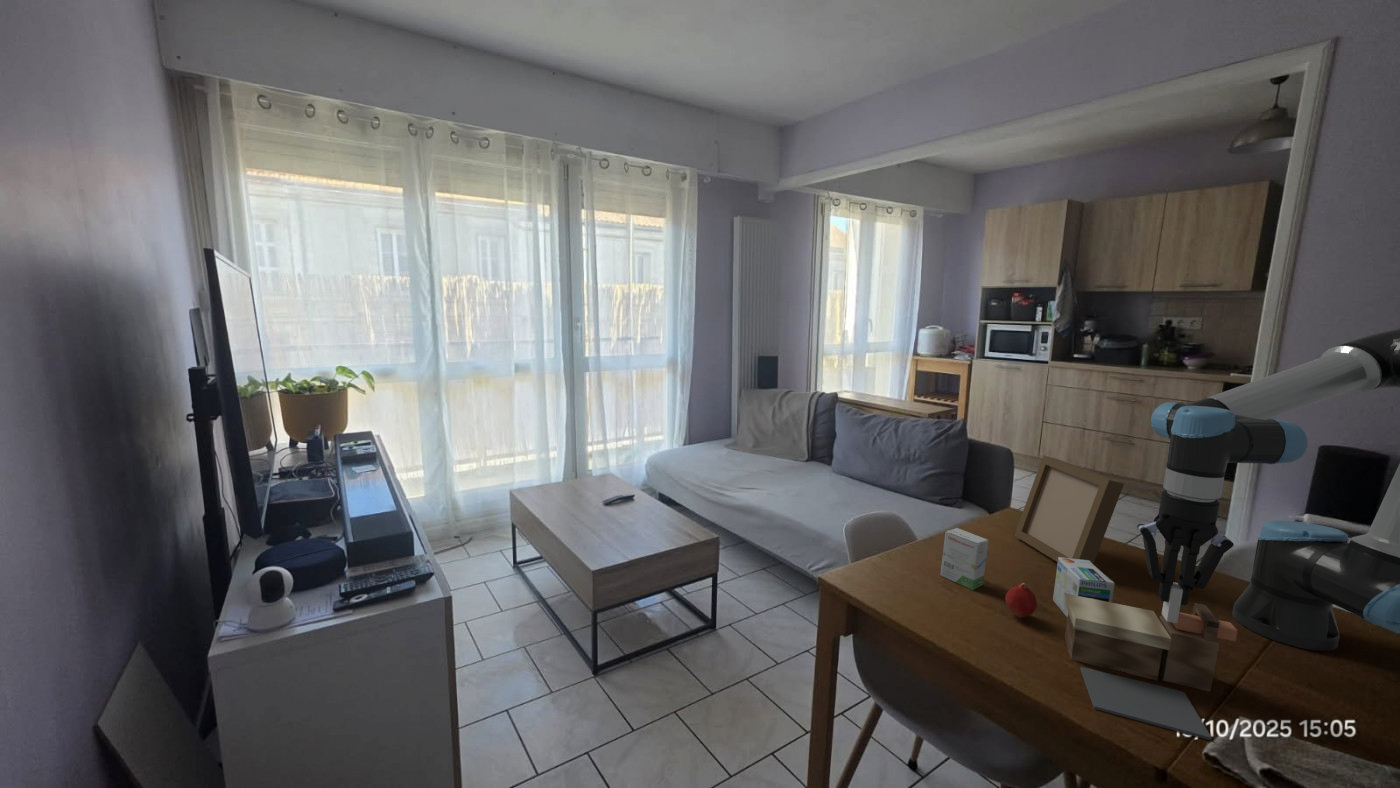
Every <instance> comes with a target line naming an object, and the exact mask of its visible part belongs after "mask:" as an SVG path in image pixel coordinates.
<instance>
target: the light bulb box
mask: <svg viewBox="0 0 1400 788" xmlns="http://www.w3.org/2000/svg"><path fill="white" fill-rule="evenodd" d="M1055 574H1056V575H1055V581H1054V588H1053V589H1054V590H1053V598H1052V601H1053V602H1054V603H1055V605H1056V606H1057V608H1059V609H1060V610H1061V612H1062V613H1063V615H1065V617H1066V618H1067V617H1068V611H1067V608H1066V606H1065V597H1066V594H1071V595H1076V596H1081V597H1086V598H1091V599H1096V600H1101V601H1106V602H1111V603H1113V597H1114V591H1115V582H1114V581H1113V580H1112V579H1111V578H1109V577H1108V576H1107V575H1106V574H1104V573H1103V572H1102V570H1100V569H1099V568H1098V567H1097V566H1096V565H1095V564H1092V563H1091V562H1090V561H1089V560H1080V559H1070V558H1063V557H1058V562H1057V566H1056V573H1055Z"/></svg>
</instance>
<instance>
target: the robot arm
mask: <svg viewBox="0 0 1400 788" xmlns="http://www.w3.org/2000/svg"><path fill="white" fill-rule="evenodd" d="M1380 388H1381V389H1382V388H1383V389H1385V388H1400V328H1396V329H1392V330H1386V331H1383V332H1379V333H1375V334H1371V335H1366V336H1364V337H1361V338H1357V339H1353V340H1350V341H1348V342H1347V341H1346V342H1345V343H1341V344H1339V345H1336V346H1333V347H1331V348H1329V349H1328V348H1327V350H1326V351H1324V352H1323V353H1322V354H1321V356H1320V357H1319V358H1316V359H1314V360H1310V361H1307V362H1305V363H1301V364H1299V365H1296V366H1293V367H1290V368H1288V369H1284V370H1282V371H1279V372H1276V373H1273V374H1270V375H1268V376H1264V377H1262V378H1259V379H1257V380H1254V381H1251V382H1248V383H1245V384H1243V385H1239V386H1235V387H1234V388H1231V389H1228V390H1225V391H1222V392H1220V393H1217V394H1214V395H1211V396H1208V397H1205V398H1202V399H1199V400H1197V401H1196V400H1195V401H1194V402H1191V403H1184V402H1172V401H1170V402H1169V401H1168V402H1165V403H1162V404H1160V405H1159V406H1158V407H1156V408H1155V409H1154V410H1153V412H1152V414H1151V416H1150V417H1151V418H1150V426H1151V428H1152V430H1153V432H1154V433H1155V434H1157V435H1158V436H1159V437H1161V438H1165V439H1168V440H1169V447H1168V452H1167V461H1166V467H1165V473H1164V479H1163V484H1162V488H1163V489H1164V491H1161V496H1160V502H1159V508H1158V514H1157V515H1156V516H1155V517H1154V519H1153V521H1152V522H1151V523H1147V524H1143V523H1139V524H1137V525H1136V528H1137V530H1138V531H1139V533H1140V534H1141V537H1142V540H1143V547H1144V554H1145V559H1146V565H1147V572H1148V574H1149V575H1150V578H1152V580H1153V581H1154V582H1155V581H1156V582H1159V587H1158V588H1159V589H1158V594H1157V595H1158V598H1159V599H1160V601H1162V602H1163V604H1162V610H1161V616H1164V618H1165V619H1166V621H1168V622H1173V623H1177V622H1178V616H1179V612H1180V609H1181V606H1187V605H1188V603H1189V598H1190V593H1192V592H1194V589H1199V590H1200V589H1201V590H1203V589H1205V588H1206V587H1207V585H1208V583H1209V581H1210V580H1211V578H1212V575H1213V574H1214V572H1215V571H1216V569H1217V567H1218V565H1219V564H1220V561H1221V560H1222V559H1223V556H1224V554H1225V553H1227V552H1228V551H1229V550H1231V549H1232V548H1233V547H1234V545H1235V543H1234V542H1233V541H1232V540H1231V539H1229V538H1228V537H1227V536H1225V535H1222V534H1221V533H1219V529H1218V527H1217V524H1216V523H1217V520H1218V515H1219V510H1220V501H1218V499H1221V498H1222V492H1223V488H1224V480H1225V477H1226V471H1227V466H1228V464H1261V465H1262V464H1266V465H1267V464H1268V465H1276V464H1286V463H1287V464H1289V463H1292V462H1295V461H1297V460H1299V459H1300V458H1302V457H1303V456H1304V454H1305V453H1306V452H1307V448H1308V442H1309V441H1308V437H1307V435H1306V433H1305V431H1304V429H1303V428H1302V427H1301V426H1299V425H1298V424H1296V423H1295V422H1292V421H1290V420H1282V419H1275V418H1276V417H1279V416H1282V415H1285V414H1287V413H1290V412H1294V411H1297V410H1299V409H1302V408H1305V407H1308V406H1311V405H1314V404H1317V403H1320V402H1323V401H1325V400H1328V399H1332V398H1335V397H1337V396H1340V395H1344V394H1346V393H1354V394H1355V393H1357V394H1358V393H1359V394H1360V393H1365V392H1370V391H1373V390H1376V389H1380ZM1157 530H1158V532H1159V533H1160V534H1161V536H1162V537H1163V538H1164V544H1165V545H1164V551H1163V557H1162V558H1163V559H1162V561H1161V562H1162V563H1161V567H1160V563H1159V557H1158V555H1159V554H1158V549H1157V543H1156V540H1155V537H1156V536H1157ZM1209 541H1210V544H1209V546H1208V547H1207V549H1206V551H1205V553H1204V554H1203V556H1202V558H1201V560H1200V562H1199V564H1198V565H1196V564H1197V561H1198V555H1199V554H1200V551H1201V547H1202V546H1203V545H1205V544H1206V543H1208V542H1209ZM1181 548H1182V554H1181V559H1180V567H1179V573H1178V577H1177V581H1178V582H1174V581H1175V576H1176V569H1177V564H1178V558H1179V553H1180V552H1181ZM1196 566H1197V567H1196ZM1160 569H1161V570H1160ZM1333 605H1335V606H1336V607H1338V608H1341V609H1343V610H1345V611H1347V612H1349V613H1350V614H1351V613H1352V614H1353V615H1356V616H1357V617H1360V618H1362V619H1364V620H1365V621H1367V622H1369V623H1370V624H1371V625H1374V626H1379V627H1382V628H1383V629H1386V630H1389V631H1391V632H1393V633H1396V634H1398V635H1400V463H1399V464H1398V466H1397V469H1396V470H1395V473H1394V475H1393V477H1392V479H1391V482H1390V484H1389V486H1388V488H1387V491H1386V493H1385V495H1384V497H1383V499H1382V501H1381V504H1380V506H1379V507H1378V510H1377V512H1376V515H1375V517H1374V519H1373V521H1372V523H1371V526H1370V528H1369V530H1368V532H1367V533H1365V534H1361V535H1356V536H1353V537H1351V539H1349V535H1348V534H1347V533H1346V532H1345V531H1343V530H1340V529H1337V528H1335V527H1329V526H1326V525H1321V524H1315V523H1309V522H1300V521H1294V520H1293V521H1291V520H1270V521H1267V522H1265V523H1264V524H1262V526H1261V529H1260V532H1259V536H1258V537H1257V543H1256V548H1255V553H1254V561H1253V566H1252V571H1251V578H1250V582H1249V584H1248V586H1247V587H1246V588H1245V589H1244V591H1243V592H1242V593H1241V594H1240V596H1239V597H1238V598H1237V599H1236V601H1235V602H1234V603H1233V607H1232V612H1231V615H1232V617H1233V618H1234V620H1236V621H1237V622H1238V623H1239V624H1240V625H1242V626H1244V627H1245V628H1246V629H1248V630H1250V631H1252V632H1254V633H1256V634H1258V635H1260V636H1263V637H1265V638H1267V639H1270V640H1273V641H1275V642H1279V643H1282V644H1285V645H1288V646H1290V647H1291V646H1292V647H1296V648H1300V649H1304V650H1309V651H1318V652H1331V651H1334V650H1337V649H1338V646H1339V642H1340V632H1339V627H1338V624H1337V620H1336V616H1335V612H1334V608H1333Z"/></svg>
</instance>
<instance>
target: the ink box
mask: <svg viewBox="0 0 1400 788" xmlns="http://www.w3.org/2000/svg"><path fill="white" fill-rule="evenodd" d="M989 542H990V540H989V539H987V538H984V537H982V536H979V535H976V534H973V533H972V532H969V531H966V530H963V529H961V528H958V527H955V528H952V529H949V530H945V534H944V543H943V549H942V550H943V551H942V559H941V567H940V574H939V575H940V576H941V577H943V578H945V579H946V580H947V579H948V580H949V581H951V582H954V583H956V584H958V585H960V586H963V587H965V588H967V589H969V590H971V591H974V590H976V589H978V588H980V587H982V586H983V585H984V581H985V580H984V579H985V570H986V564H987V556H988V549H989V544H990V543H989Z"/></svg>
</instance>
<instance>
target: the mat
mask: <svg viewBox="0 0 1400 788" xmlns="http://www.w3.org/2000/svg"><path fill="white" fill-rule="evenodd" d="M1080 671H1081V675H1082V679H1083V680H1084V684H1085V686H1086V690H1087V693H1088V696H1089V697H1090V701H1091V704H1092V708H1093V709H1095V710H1098V711H1101V712H1105V713H1108V714H1111V715H1114V716H1115V715H1116V716H1118V717H1119V716H1120V717H1123V718H1127V719H1130V720H1135V721H1139V722H1141V723H1145V724H1150V725H1153V726H1156V727H1159V728H1164V729H1168V730H1171V731H1175V732H1180V733H1183V734H1186V735H1190V736H1193V737H1197V738H1201V739H1204V740H1208V741H1212V738H1213V737H1212V735H1211V734H1210V732H1209V731H1208V729H1207V727H1206V726H1205V724H1204V722H1203V721H1202V719H1201V717H1200V715H1199V714H1198V713H1197V711H1196V709H1195V707H1194V706H1193V704H1192V702H1191V701H1190V699H1189V698H1188V695H1187V693H1185V691H1182V690H1181V691H1180V690H1177V689H1174V688H1170V687H1164V686H1161V685H1157V684H1153V683H1148V682H1144V681H1140V680H1137V679H1133V678H1128V677H1125V676H1120V675H1115V674H1112V673H1107V672H1104V671H1100V670H1096V669H1091V668H1087V667H1083V666H1080Z"/></svg>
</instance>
